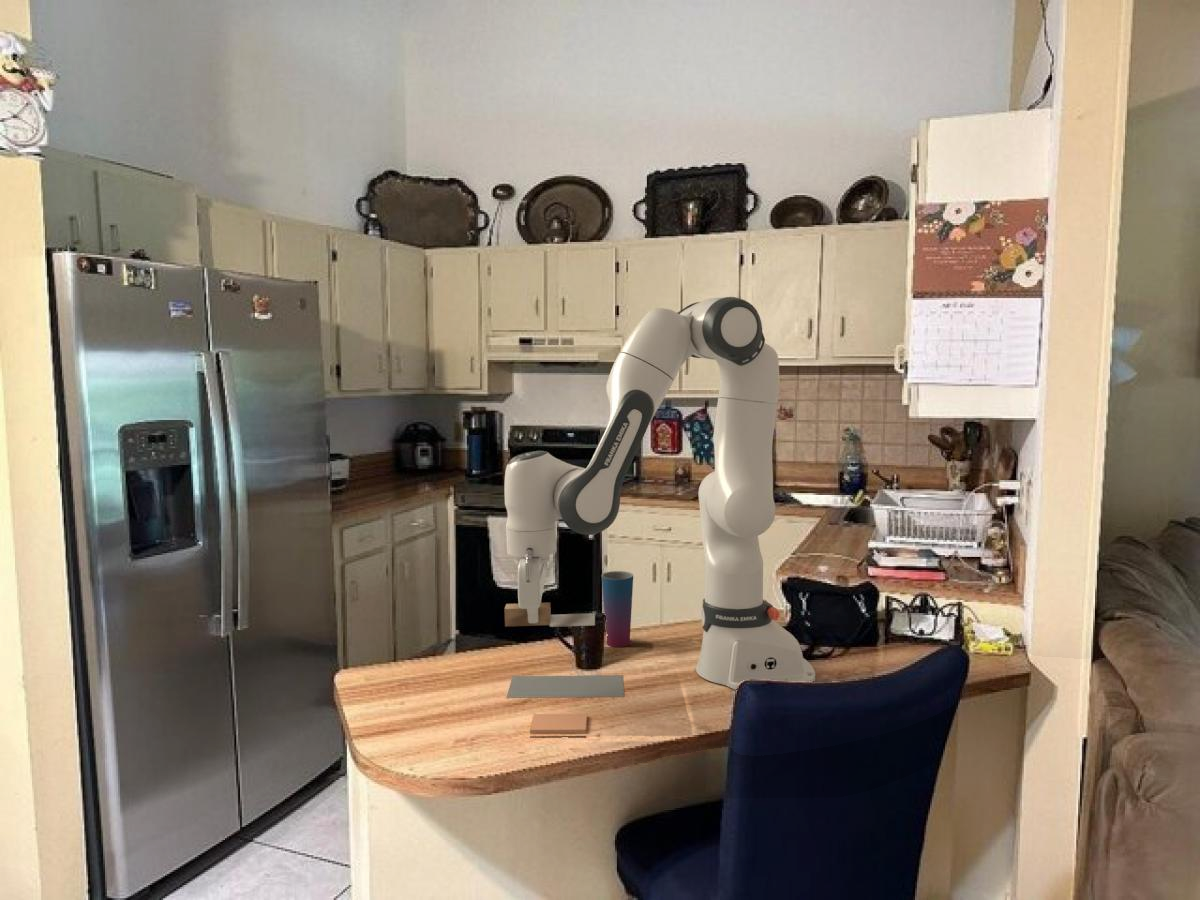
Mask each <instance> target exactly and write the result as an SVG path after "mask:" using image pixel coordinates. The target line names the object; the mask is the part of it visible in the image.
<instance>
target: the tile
mask: <svg viewBox="0 0 1200 900" xmlns="http://www.w3.org/2000/svg"><path fill="white" fill-rule="evenodd" d="M587 719H588V713H533V714H532V719H531V724H530V728H529V733H530V734H586V733H587V723H588V722H587V721H588V720H587ZM562 737H568V738H567V739H581V738H582V739H586V738H587V736H586V735H541V736H540V735H533V736H532V735H531V736H530V735H529V738H530V739H563V738H562Z"/></svg>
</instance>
